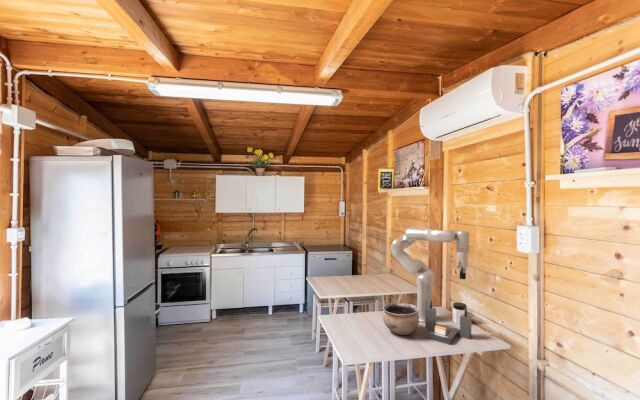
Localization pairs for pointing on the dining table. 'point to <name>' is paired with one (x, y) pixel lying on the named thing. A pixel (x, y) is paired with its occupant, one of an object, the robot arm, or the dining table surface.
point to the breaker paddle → (440, 330)
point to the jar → (457, 311)
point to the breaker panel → (447, 339)
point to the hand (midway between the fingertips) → (462, 278)
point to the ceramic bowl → (401, 317)
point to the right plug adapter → (465, 325)
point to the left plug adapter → (430, 316)
